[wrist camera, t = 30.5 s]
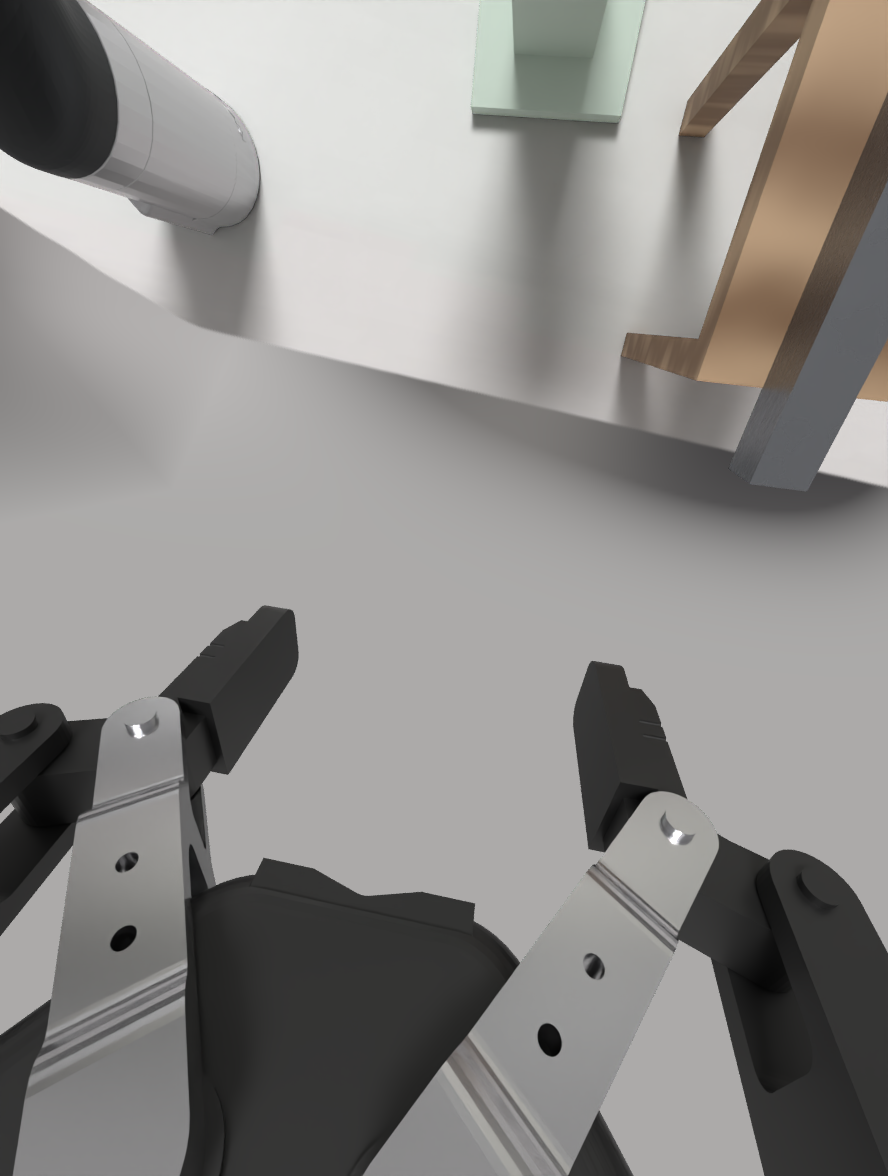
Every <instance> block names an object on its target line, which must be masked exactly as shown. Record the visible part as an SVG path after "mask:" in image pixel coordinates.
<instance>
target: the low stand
mask: <svg viewBox="0 0 888 1176" xmlns="http://www.w3.org/2000/svg"><path fill="white" fill-rule="evenodd" d="M799 38H800V39H799ZM798 39H799V42H798V45H797V48H796V51H795V54H794V57H793V60H792V63H791V66H790V69H789V72H788V75H787V78H786V81H785V84H784V87H783V90H782V93H781V96H780V99H779V101H778V104H777V107H776V110H775V113H774V116H773V119H772V122H771V125H770V128H769V131H768V134H767V137H766V140H765V143H764V146H763V149H762V152H761V155H760V158H759V161H758V164H757V167H756V170H755V173H754V176H753V179H752V182H751V185H750V188H749V191H748V194H747V197H746V199H745V202H744V205H743V208H742V211H741V214H740V217H739V220H738V223H737V226H736V229H735V232H734V235H733V238H732V241H731V244H730V247H729V250H728V253H727V256H726V259H725V262H724V265H723V268H722V271H721V274H720V277H719V280H718V283H717V286H716V289H715V292H714V294H713V297H712V300H711V303H710V306H709V309H708V312H707V315H706V318H705V321H704V324H703V327H702V330H701V333H700V336H699V339H693V338H681V337H669V336H658V335H646V334H635V333H627V335H626V338H625V342H624V346H623V350H622V354H621V356H623V357H626V358H629V359H632V360H635V361H638V362H641V363H644V364H647V365H651V366H654V367H657V368H660V369H663V370H666V371H669V372H672V373H675V374H678V375H681V376H684V377H687V378H690V379H693V380H696V381H704V382H713V383H723V384H732V385H741V386H750V387H759V388H763V386H764V383H765V381H766V378H767V376H768V374H769V371H770V369H771V367H772V364H773V362H774V360H775V357H776V355H777V352H778V350H779V348H780V345H781V343H782V341H783V338H784V336H785V334H786V331H787V329H788V326H789V324H790V322H791V319H792V317H793V315H794V312H795V310H796V308H797V305H798V303H799V300H800V298H801V296H802V293H803V291H804V289H805V286H806V284H807V282H808V279H809V277H810V274H811V272H812V270H813V267H814V265H815V263H816V260H817V258H818V256H819V253H820V251H821V248H822V246H823V244H824V241H825V239H826V237H827V234H828V232H829V230H830V227H831V225H832V222H833V220H834V218H835V215H836V213H837V211H838V208H839V206H840V204H841V201H842V199H843V196H844V194H845V192H846V189H847V187H848V185H849V182H850V180H851V178H852V175H853V173H854V170H855V168H856V166H857V163H858V161H859V159H860V156H861V154H862V152H863V149H864V147H865V144H866V142H867V140H868V137H869V135H870V133H871V130H872V128H873V126H874V123H875V121H876V118H877V116H878V114H879V111H880V109H881V107H882V104H883V102H884V100H885V97H886V95H887V92H888V0H761V1H760V3H759V4H758V6H757V7H756V8H755V10H754V11H753V12H752V14H751V15H750V16H749V18H748V19H747V21H746V22H745V23H744V25H743V26H742V27H741V29H740V30H739V31H738V33H737V34H736V36H735V37H734V38H733V40H732V41H731V42H730V44H729V45H728V46H727V48H726V49H725V51H724V52H723V53H722V55H721V56H720V57H719V59H718V60H717V61H716V63H715V64H714V66H713V67H712V68H711V70H710V71H709V72H708V74H707V75H706V76H705V78H704V79H703V81H702V82H701V83H700V85H699V86H698V87H697V89H696V90H695V91H694V93H693V94H692V96H691V97H690V98H689V100H688V102H687V106H686V109H685V113H684V117H683V121H682V125H681V129H680V132H679V136H695V137H705V136H706V135H707V134H708V133H709V132H710V130H711V129H712V128H713V127H714V126H715V125H716V124H717V123H718V122H719V121H720V120H721V119H722V118H723V117H724V116H725V115H726V114H727V113H728V112H729V111H730V110H731V109H732V108H733V107H734V106H735V105H736V103H737V102H738V101H739V100H740V99H741V98H742V97H743V96H744V95H745V94H746V93H747V92H748V91H749V90H750V89H751V88H752V87H753V86H754V85H755V84H756V83H757V82H758V81H759V80H760V79H761V78H762V77H763V75H764V74H765V73H766V72H767V71H768V70H769V69H770V68H771V67H772V66H773V65H774V64H775V63H776V62H777V61H778V60H779V59H780V58H781V57H782V56H783V55H784V54H785V53H786V52H787V51H788V50H789V48H790V47H791V46H792V45H793V44H794V43H795V42H796V41H797V40H798ZM857 398H858V399H868V400H877V401H886V402H887V401H888V339H887V341H886V343H885V345H884V347H883V349H882V351H881V352H880V354H879V356H878V358H877V360H876V362H875V364H874V366H873V368H872V369H871V371H870V373H869V375H868V377H867V379H866V381H865V383H864V385H863V386H862V388H861V390H860V392H859V394H858V396H857Z"/></svg>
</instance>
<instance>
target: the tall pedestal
mask: <svg viewBox="0 0 888 1176" xmlns="http://www.w3.org/2000/svg"><path fill="white" fill-rule="evenodd" d="M645 1H646V0H480V3H479V15H478V27H477V38H476V50H475V62H474V74H473V86H472V98H471V109H472V114H482V115H498V116H514V117H530V118H545V119H561V120H577V121H593V122H609V123H618V122H619V120H620V117H621V115H622V110H623V105H624V101H625V96H626V91H627V86H628V81H629V77H630V72H631V67H632V62H633V58H634V53H635V48H636V43H637V39H638V34H639V29H640V24H641V20H642V15H643V10H644V5H645Z"/></svg>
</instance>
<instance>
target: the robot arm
mask: <svg viewBox="0 0 888 1176" xmlns="http://www.w3.org/2000/svg"><path fill="white" fill-rule="evenodd" d="M0 149H1V150H2V151H4V152H5V153H7V154H8V155H10V156H11V157H13V158H14V159H16V160H18V161H20V162H22V163H24V164H26V165H28V166H30V167H33V168H35V169H38V170H41V171H44V172H47V173H50V174H54V175H57V176H60V177H64V178H68V179H71V180H74V181H77V182H80V183H84V184H87V185H90V186H93V187H96V188H99V189H102V190H106V191H109V192H112V193H115V194H118V195H121V196H124V197H127V198H128V199H129V200H130V201H131V202H132V204H133V205H134V206H135V207H136V208H137V210H138V211H139V212H140V213H142V214H143V215H145V216H147V217H151V218H154V219H158V220H161V221H165V222H168V223H172V224H175V225H179V226H182V227H186V228H189V229H193V230H196V231H200V232H203V233H207V234H210V235H212V234H213V233H214V232H215V230H216V229H217V228H219V227H226V226H232V225H235V224H237V223H239V222H241V221H242V220H243V219H244V218H246V217H247V215H248V214H249V212H250V211H251V210H252V208H253V206H254V203H255V201H256V198H257V194H258V189H259V164H258V157H257V154H256V150H255V146H254V143H253V141H252V138H251V136H250V134H249V131H248V130H247V128H246V126H245V125H244V123H243V122H242V120H241V118H240V117H239V116H238V115H237V114H236V113H235V112H234V110H233V109H232V108H231V107H229V106H228V105H227V104H225V103H224V102H223V101H222V100H221V99H220V98H218V97H217V96H216V95H215V94H213V93H212V92H211V91H209V90H208V89H206V88H204V87H203V86H202V85H200V84H199V83H198V82H197V81H195V80H194V79H192V78H191V77H190V76H188V75H187V74H186V73H184V72H183V71H182V70H180V69H179V68H178V67H176V66H175V65H174V64H172V63H171V62H169V61H168V60H167V59H165V58H164V57H163V56H161V55H160V54H159V53H157V52H156V51H155V50H153V49H152V48H151V47H149V46H148V45H147V44H145V43H144V42H142V41H141V40H140V39H138V38H137V37H136V36H134V35H133V34H132V33H130V32H129V31H128V30H126V29H125V28H124V27H122V26H121V25H120V24H118V23H117V22H115V21H114V20H113V19H111V18H110V17H109V16H107V15H106V14H105V13H103V12H102V11H101V10H99V9H98V8H96V7H95V6H94V5H92V4H91V3H90V2H88V1H87V0H0ZM297 663H298V644H297V634H296V625H295V616H294V613H293V611H292V610H289V609H283V608H277V607H271V606H262V607H261V608H260V609H259V610H258V611H257V612H256V613H255V614H254V615H253V616H252V617H251V618H250V619H249V621H242V620H241V621H239V622H237V623H236V624H234V625H232V626H230V627H228V628H226V629H224V630H223V631H222V632H221V633H220V634H219V635H218V636H217V637H216V638H215V639H214V640H213V641H212V642H211V644H210V646H207V647H206V648H205V649H204V650H203V651H202V652H201V653H200V656H199V657H196V659H194V660H193V661H192V663H191V664H190V665H188V667H187V668H186V669H185V670H184V671H183V672H182V673H181V674H180V675H179V676H178V677H177V678H176V679H175V680H174V681H173V682H172V683H171V684H170V685H169V686H168V687H167V688H166V689H165V690H164V691H163V692H162V693H161V694H160V695H159V696H158V697H147V698H142V699H139V700H135V701H133V702H130V703H128V704H126V705H124V706H122V707H121V708H119V709H118V710H116V711H115V712H114V713H113V714H112V715H111V716H110V717H109V718H105V719H92V720H79V721H67V720H66V718H65V716H64V714H63V712H62V711H61V709H60V708H59V707H57V706H55V705H52V704H45V703H40V704H31V705H26V706H22V707H19V708H16V709H13V710H11V711H8V712H6V713H4V714H2V715H0V813H1V812H2V811H3V810H4V809H5V808H6V807H7V806H8V805H9V804H10V803H11V804H12V805H13V807H14V808H15V809H14V810H13V811H12V813H10V815H9V816H7V818H6V819H5V820H4V821H3V822H2V823H1V824H0V936H1V935H2V933H3V932H4V931H5V930H6V928H7V927H8V926H9V925H10V923H11V922H12V921H13V919H14V918H15V917H16V916H17V915H18V913H19V912H20V911H21V909H22V908H23V907H24V906H25V904H26V903H27V902H28V901H29V899H30V898H31V897H32V896H33V894H34V893H35V892H36V891H37V889H38V888H39V887H40V886H41V884H42V883H43V882H44V881H45V879H46V878H47V877H48V876H49V874H50V873H51V872H52V871H53V869H54V868H55V867H56V866H57V864H58V863H59V862H60V861H61V859H62V858H63V857H64V856H65V854H66V853H67V852H68V851H69V849H70V848H71V847H72V846H73V850H72V857H71V864H70V872H69V878H68V885H67V892H66V899H65V907H64V913H63V920H62V927H61V935H60V941H59V949H58V956H57V963H56V970H55V977H54V984H53V991H52V998H51V999H50V1000H49V1001H47V1002H46V1003H45V1004H43V1005H42V1006H40V1007H39V1008H38V1009H36V1010H35V1011H34V1012H32V1013H31V1014H29V1015H28V1016H27V1017H25V1018H24V1019H22V1020H21V1021H20V1022H18V1023H17V1024H16V1025H14V1026H13V1027H11V1028H10V1029H8V1030H7V1031H6V1032H4V1033H3V1034H1V1035H0V1176H633V1174H632V1172H631V1170H630V1168H629V1166H628V1165H627V1163H626V1161H625V1159H624V1157H623V1155H622V1153H621V1151H620V1149H619V1147H618V1145H617V1144H616V1141H615V1140H614V1138H613V1136H612V1134H611V1132H610V1130H609V1128H608V1126H607V1124H606V1122H605V1121H604V1119H603V1117H602V1115H601V1113H600V1111H599V1109H600V1107H601V1105H602V1103H603V1101H604V1099H605V1097H606V1094H607V1092H608V1090H609V1088H610V1086H611V1084H612V1082H613V1080H614V1078H615V1076H616V1074H617V1071H618V1069H619V1067H620V1065H621V1063H622V1061H623V1059H624V1057H625V1055H626V1053H627V1051H628V1049H629V1046H630V1044H631V1042H632V1040H633V1038H634V1036H635V1034H636V1032H637V1030H638V1027H639V1026H640V1023H641V1021H642V1019H643V1017H644V1015H645V1013H646V1011H647V1009H648V1007H649V1005H650V1002H651V1000H652V998H653V996H654V994H655V992H656V990H657V988H658V986H659V984H660V982H661V980H662V977H663V975H664V973H665V971H666V969H667V967H668V965H669V963H670V961H671V959H672V956H673V954H674V952H675V950H676V947H677V944H678V939H679V940H681V941H682V942H684V943H686V944H688V945H689V946H691V947H693V948H695V949H696V950H698V951H700V952H702V953H703V954H705V955H707V956H709V957H710V958H711V960H712V964H713V968H714V972H715V977H716V981H717V985H718V989H719V993H720V997H721V1001H722V1005H723V1009H724V1013H725V1017H726V1021H727V1025H728V1029H729V1033H730V1037H731V1041H732V1045H733V1050H734V1054H735V1057H736V1061H737V1066H738V1070H739V1074H740V1078H741V1082H742V1086H743V1090H744V1094H745V1098H746V1102H747V1106H748V1110H749V1114H750V1118H751V1123H752V1126H753V1131H754V1135H755V1139H756V1143H757V1147H758V1150H759V1155H760V1159H761V1163H762V1167H763V1171H764V1175H765V1176H888V953H887V951H886V949H885V947H884V945H883V944H882V941H881V940H880V938H879V936H878V934H877V932H876V930H875V928H874V926H873V924H872V923H871V921H870V919H869V917H868V915H867V913H866V912H865V909H864V907H863V906H862V904H861V902H860V900H859V899H858V897H857V895H856V894H855V893H854V891H853V890H852V889H851V888H850V886H849V885H848V884H847V883H846V882H845V881H844V879H843V878H841V877H840V876H839V875H838V874H837V873H836V872H835V871H834V870H832V869H831V868H830V867H829V866H827V865H826V864H824V863H823V862H821V861H820V860H818V859H816V858H814V857H812V856H810V855H808V854H806V853H803V852H800V851H795V850H781V851H778V852H777V853H775V854H774V855H773V856H772V857H771V859H770V860H768V859H766V858H764V857H762V856H760V855H758V854H756V853H754V852H752V851H750V850H747V849H745V848H743V847H741V846H739V845H737V844H735V843H733V842H731V841H729V840H727V839H725V838H723V837H721V836H720V835H719V834H717V832H716V830H715V828H714V826H713V824H712V823H711V821H710V820H709V818H708V817H707V816H706V815H705V813H704V812H702V810H701V809H699V808H698V807H697V806H696V805H694V804H693V803H692V802H690V801H689V800H688V799H687V797H686V794H685V791H684V788H683V786H682V783H681V780H680V777H679V774H678V771H677V768H676V765H675V762H674V759H673V756H672V754H671V751H670V748H669V745H668V742H666V736H665V734H664V730H663V728H662V727H661V722H660V719H659V716H658V713H657V710H656V707H655V705H654V704H653V703H652V702H651V700H650V699H649V698H648V697H647V696H646V694H645V693H644V692H643V691H642V690H641V689H636V688H630V687H629V685H628V681H627V678H626V674H625V671H624V668H623V667H622V666H620V665H614V664H608V663H602V662H596V661H591V663H590V664H589V666H588V669H587V672H586V674H585V678H584V680H583V683H582V686H581V689H580V692H579V695H578V698H577V701H576V704H575V709H574V717H573V727H574V736H575V744H576V751H577V759H578V767H579V775H580V784H581V792H582V800H583V808H584V816H585V824H586V832H587V840H588V848H589V849H591V850H596V851H601V852H605V853H604V855H603V856H602V857H601V859H600V860H599V861H598V863H597V864H596V865H592V866H591V868H590V869H589V870H588V871H587V872H586V874H585V875H584V876H583V878H582V879H581V881H580V882H579V883H578V885H577V886H576V887H575V889H574V890H573V892H572V893H571V895H570V896H569V897H568V898H567V900H566V901H565V903H564V904H563V905H562V907H561V908H560V909H559V911H558V912H557V913H556V915H555V916H554V918H553V919H552V920H551V922H550V923H549V924H548V926H547V927H546V929H545V930H544V931H543V933H542V934H541V935H540V937H539V938H538V939H537V941H536V942H535V944H534V945H533V946H532V948H531V949H530V950H529V952H528V953H527V955H526V956H525V957H524V959H523V960H522V961H521V963H520V962H519V961H518V959H517V958H516V957H515V956H514V955H513V953H512V952H511V951H510V950H509V948H508V947H507V946H506V945H505V944H504V943H503V942H502V941H501V940H499V939H498V938H497V937H496V936H495V935H494V934H492V933H491V932H490V931H489V930H487V929H486V928H484V927H483V926H481V925H479V924H478V923H476V922H474V909H475V908H474V907H475V904H474V903H470V902H466V901H461V900H456V899H452V898H447V897H442V896H438V895H433V894H429V893H424V892H414V893H402V894H389V895H377V896H376V895H375V896H363V895H360V894H357V893H356V892H354V891H352V890H350V889H349V888H347V887H345V886H343V885H341V884H340V883H338V882H336V881H335V880H333V879H331V878H329V877H327V876H326V875H324V874H322V873H321V872H319V871H317V870H315V869H313V868H308V867H304V866H299V865H294V864H290V863H285V862H280V861H276V860H271V859H266V858H263V861H262V862H261V864H260V866H259V868H258V870H257V873H256V874H255V875H249V876H244V877H239V878H235V879H232V880H229V881H226V882H223V883H220V884H219V885H216V883H215V878H214V873H213V868H212V863H211V856H210V846H209V836H208V826H207V816H206V806H205V797H204V789H203V784H202V783H203V781H204V780H205V778H206V777H207V775H208V774H209V773H210V771H212V772H217V773H222V774H227V775H228V774H229V773H230V771H231V770H232V768H233V767H234V765H235V763H236V762H237V761H238V759H239V758H240V756H241V754H242V753H243V751H244V750H245V748H246V747H247V745H248V744H249V742H250V741H251V739H252V738H253V736H254V734H255V733H256V731H257V730H258V728H259V727H260V725H261V724H262V722H263V721H264V719H265V718H266V716H267V715H268V713H269V712H270V710H271V709H272V707H273V705H274V704H275V703H276V701H277V699H278V698H279V696H280V695H281V693H282V692H283V690H284V689H285V687H286V686H287V684H288V683H289V681H290V680H291V678H292V676H293V675H294V673H295V670H296V667H297Z"/></svg>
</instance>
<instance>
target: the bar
mask: <svg viewBox="0 0 888 1176" xmlns="http://www.w3.org/2000/svg"><path fill="white" fill-rule="evenodd" d="M887 339H888V92H887V95H886V97H885V100H884V102H883V104H882V107H881V109H880V111H879V114H878V116H877V118H876V121H875V123H874V126H873V128H872V130H871V133H870V135H869V137H868V140H867V142H866V144H865V147H864V149H863V152H862V154H861V156H860V159H859V161H858V163H857V166H856V168H855V170H854V173H853V175H852V178H851V180H850V182H849V185H848V187H847V189H846V192H845V194H844V196H843V199H842V201H841V204H840V206H839V208H838V211H837V213H836V215H835V218H834V220H833V222H832V225H831V227H830V230H829V232H828V234H827V237H826V239H825V241H824V244H823V246H822V248H821V251H820V253H819V256H818V258H817V260H816V263H815V265H814V267H813V270H812V272H811V274H810V277H809V279H808V282H807V284H806V286H805V289H804V291H803V293H802V296H801V298H800V300H799V303H798V305H797V308H796V310H795V312H794V315H793V317H792V319H791V322H790V324H789V326H788V329H787V331H786V334H785V336H784V338H783V341H782V343H781V345H780V348H779V350H778V352H777V355H776V357H775V360H774V362H773V364H772V367H771V369H770V371H769V374H768V376H767V378H766V381H765V383H764V386H763V388H762V390H761V393H760V395H759V397H758V400H757V402H756V404H755V407H754V409H753V412H752V414H751V416H750V419H749V421H748V423H747V426H746V428H745V430H744V433H743V435H742V438H741V440H740V442H739V445H738V447H737V449H736V452H735V454H734V456H733V459H732V461H731V464H730V466H729V468H728V469H729V470H730V471H732V472H733V473H735V474H736V475H738V476H739V477H740V478H742V479H743V480H745V481H746V482H748V483H749V484H753V485H761V486H769V487H770V486H771V487H777V488H785V489H793V490H801V491H807V490H808V488H809V487H810V485H811V483H812V481H813V479H814V477H815V475H816V473H817V471H818V470H819V468H820V466H821V464H822V462H823V460H824V458H825V456H826V454H827V453H828V451H829V449H830V447H831V445H832V443H833V441H834V439H835V437H836V436H837V434H838V432H839V430H840V428H841V426H842V424H843V422H844V420H845V419H846V417H847V415H848V413H849V411H850V409H851V407H852V405H853V403H854V402H855V400H856V398H857V396H858V394H859V392H860V390H861V388H862V386H863V385H864V383H865V381H866V379H867V377H868V375H869V373H870V371H871V369H872V368H873V366H874V364H875V362H876V360H877V358H878V356H879V354H880V352H881V351H882V349H883V347H884V345H885V343H886V341H887Z"/></svg>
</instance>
